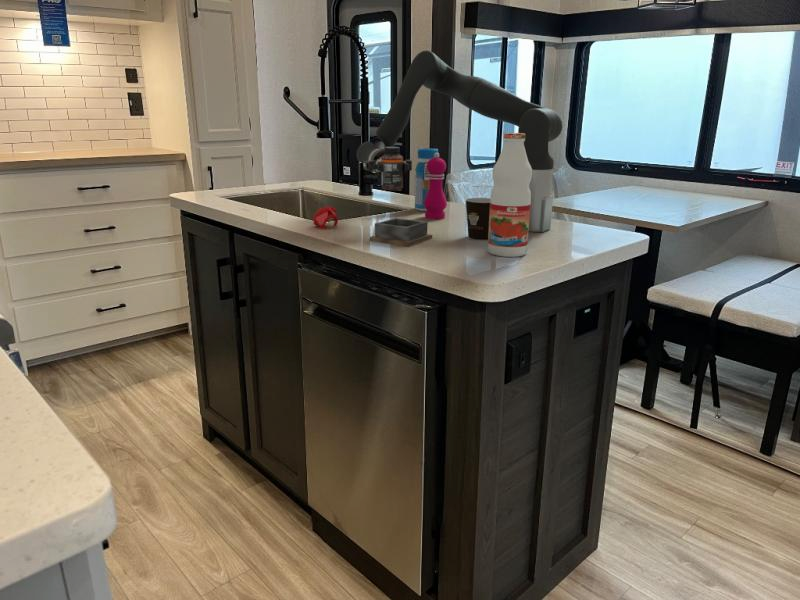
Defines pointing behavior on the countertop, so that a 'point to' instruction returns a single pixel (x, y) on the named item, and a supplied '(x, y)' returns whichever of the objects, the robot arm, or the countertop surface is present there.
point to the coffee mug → (478, 218)
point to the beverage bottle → (422, 177)
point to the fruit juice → (510, 199)
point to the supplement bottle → (392, 169)
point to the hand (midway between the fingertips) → (394, 167)
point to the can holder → (401, 232)
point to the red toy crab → (325, 216)
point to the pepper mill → (435, 189)
